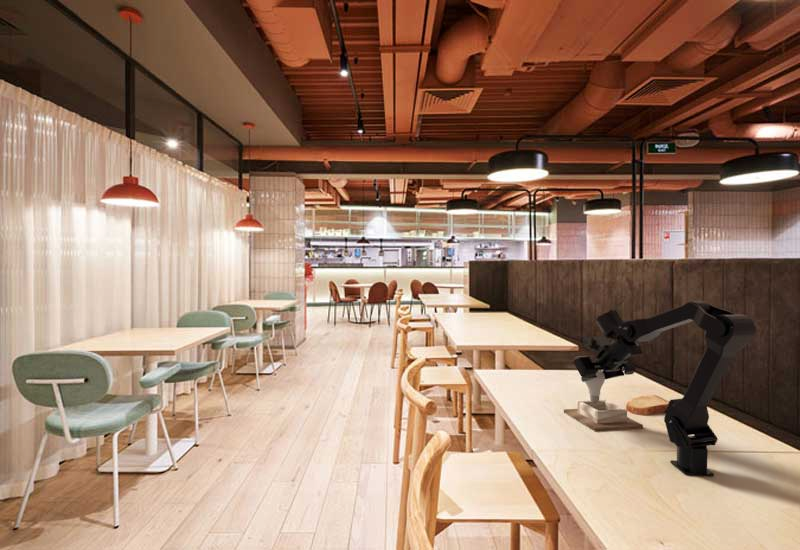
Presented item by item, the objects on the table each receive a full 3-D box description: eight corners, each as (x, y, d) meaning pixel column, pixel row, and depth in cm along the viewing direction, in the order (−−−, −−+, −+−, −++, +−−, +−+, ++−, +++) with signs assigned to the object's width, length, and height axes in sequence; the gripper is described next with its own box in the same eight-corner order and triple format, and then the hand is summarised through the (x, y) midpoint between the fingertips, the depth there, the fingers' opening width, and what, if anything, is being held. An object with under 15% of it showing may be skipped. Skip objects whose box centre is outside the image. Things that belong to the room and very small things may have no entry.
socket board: (642, 428, 128) (643, 413, 128) (594, 431, 125) (594, 415, 125) (607, 410, 144) (607, 396, 144) (563, 412, 141) (564, 398, 141)
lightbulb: (604, 407, 129) (602, 371, 129) (582, 404, 133) (581, 369, 132) (607, 401, 134) (605, 366, 134) (586, 398, 138) (584, 364, 137)
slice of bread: (629, 415, 140) (629, 403, 140) (619, 399, 157) (619, 388, 157) (693, 422, 135) (693, 410, 135) (675, 404, 152) (676, 394, 152)
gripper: (629, 328, 132) (602, 356, 143) (577, 329, 127) (553, 359, 137) (650, 358, 124) (620, 386, 135) (596, 361, 119) (569, 390, 130)
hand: (590, 380), depth 135 cm, fingers closed on lightbulb, 6 cm apart
